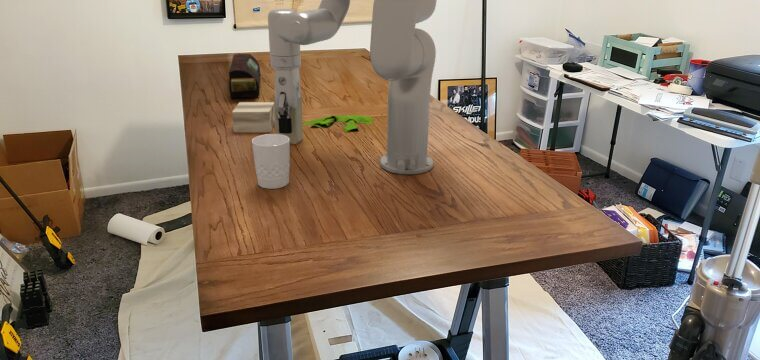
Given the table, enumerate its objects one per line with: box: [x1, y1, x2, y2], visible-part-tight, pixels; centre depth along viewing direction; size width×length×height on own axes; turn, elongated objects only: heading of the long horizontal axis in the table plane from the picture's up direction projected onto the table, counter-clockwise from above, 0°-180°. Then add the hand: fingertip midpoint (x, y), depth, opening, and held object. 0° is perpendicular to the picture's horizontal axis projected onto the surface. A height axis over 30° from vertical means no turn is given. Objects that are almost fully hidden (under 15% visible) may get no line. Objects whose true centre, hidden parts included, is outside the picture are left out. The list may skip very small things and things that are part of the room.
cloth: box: [302, 114, 375, 133], centre depth 162 cm, size 20×22×2 cm
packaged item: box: [228, 53, 261, 99], centre depth 199 cm, size 39×10×10 cm, turn 10°
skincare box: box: [273, 94, 304, 145], centre depth 146 cm, size 6×4×12 cm
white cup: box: [251, 133, 291, 190], centre depth 121 cm, size 8×8×10 cm
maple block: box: [231, 101, 275, 133], centre depth 158 cm, size 10×10×6 cm
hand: (288, 127), depth 147 cm, fingers open, 8 cm apart
